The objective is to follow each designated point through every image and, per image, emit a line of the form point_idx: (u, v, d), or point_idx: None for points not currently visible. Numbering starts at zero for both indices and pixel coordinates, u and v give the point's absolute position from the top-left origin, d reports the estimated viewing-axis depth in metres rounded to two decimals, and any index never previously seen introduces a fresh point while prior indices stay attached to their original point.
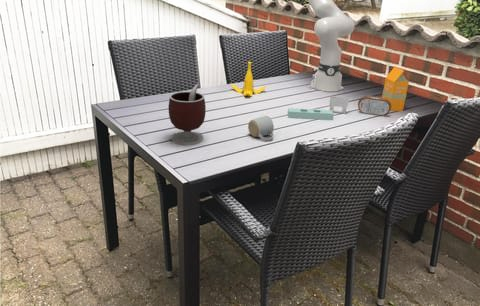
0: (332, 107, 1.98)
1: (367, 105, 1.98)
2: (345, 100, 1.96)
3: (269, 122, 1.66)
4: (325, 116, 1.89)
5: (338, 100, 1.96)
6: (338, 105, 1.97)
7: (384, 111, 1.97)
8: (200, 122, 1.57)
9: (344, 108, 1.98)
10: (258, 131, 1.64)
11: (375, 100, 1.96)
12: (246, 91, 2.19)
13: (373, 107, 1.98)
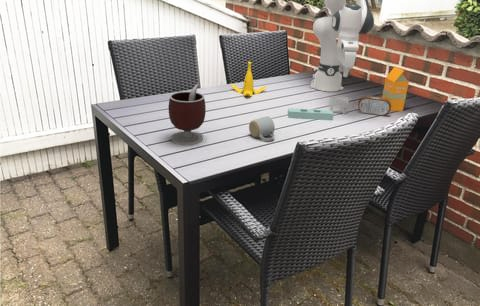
0: (332, 107, 1.98)
1: (367, 105, 1.98)
2: (345, 100, 1.96)
3: (270, 123, 1.66)
4: (325, 116, 1.89)
5: (338, 100, 1.96)
6: (338, 105, 1.97)
7: (384, 111, 1.97)
8: (200, 122, 1.57)
9: (344, 108, 1.98)
10: (258, 131, 1.64)
11: (375, 100, 1.96)
12: (246, 91, 2.19)
13: (373, 107, 1.98)
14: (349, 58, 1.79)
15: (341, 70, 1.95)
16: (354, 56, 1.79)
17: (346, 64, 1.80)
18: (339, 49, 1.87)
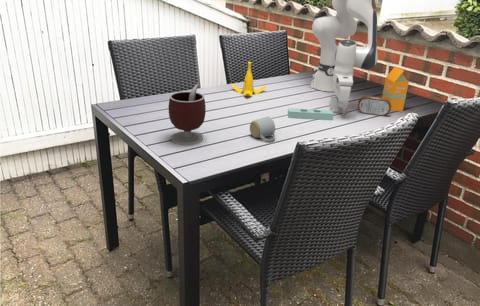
0: (332, 107, 1.98)
1: (367, 105, 1.98)
2: None
3: (271, 123, 1.65)
4: (325, 116, 1.89)
5: None
6: None
7: (384, 111, 1.97)
8: (200, 122, 1.57)
9: (344, 108, 1.98)
10: (259, 132, 1.63)
11: (375, 100, 1.96)
12: (246, 91, 2.19)
13: (373, 107, 1.98)
14: (344, 93, 1.85)
15: None
16: (349, 91, 1.85)
17: (341, 98, 1.86)
18: (334, 82, 1.94)
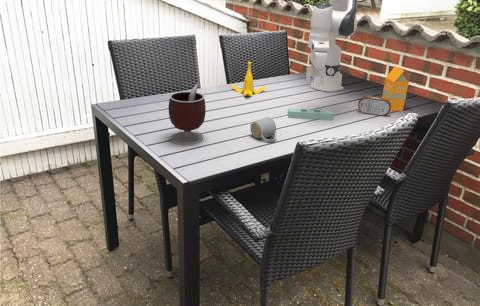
0: (309, 77, 1.84)
1: (367, 105, 1.98)
2: None
3: (272, 124, 1.65)
4: (325, 116, 1.89)
5: None
6: None
7: (384, 111, 1.97)
8: (200, 122, 1.57)
9: (321, 78, 1.84)
10: (260, 132, 1.63)
11: (375, 100, 1.96)
12: (246, 91, 2.19)
13: (373, 107, 1.98)
14: (319, 59, 1.72)
15: None
16: (325, 57, 1.71)
17: (316, 65, 1.72)
18: None
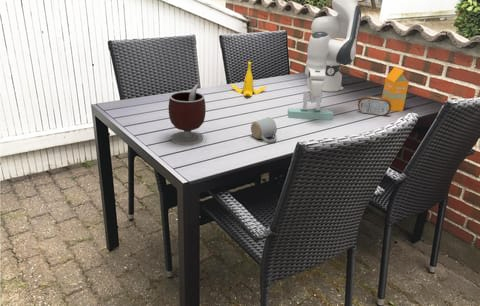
0: (305, 102, 1.89)
1: (367, 105, 1.98)
2: None
3: (272, 124, 1.65)
4: (325, 116, 1.89)
5: None
6: None
7: (384, 111, 1.97)
8: (200, 122, 1.57)
9: (318, 103, 1.89)
10: (261, 133, 1.63)
11: (375, 100, 1.96)
12: (246, 91, 2.19)
13: (373, 107, 1.98)
14: (315, 87, 1.76)
15: None
16: (321, 85, 1.76)
17: (313, 93, 1.77)
18: None
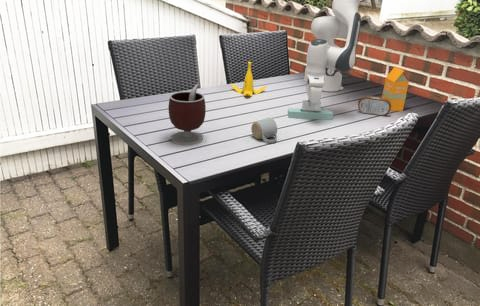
0: (304, 111, 1.90)
1: (367, 105, 1.98)
2: (317, 104, 1.88)
3: (273, 124, 1.64)
4: (325, 116, 1.89)
5: None
6: None
7: (384, 111, 1.97)
8: (200, 122, 1.57)
9: None
10: (261, 133, 1.62)
11: (375, 100, 1.96)
12: (246, 91, 2.19)
13: (373, 107, 1.98)
14: (314, 94, 1.78)
15: None
16: (320, 92, 1.78)
17: (312, 100, 1.79)
18: None
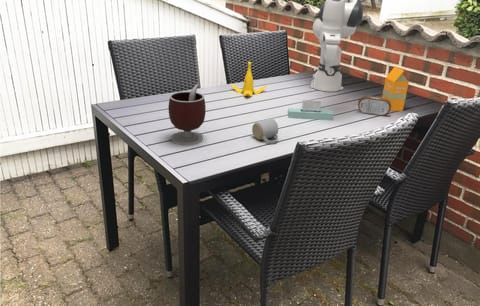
0: (304, 111, 1.91)
1: (367, 105, 1.98)
2: (317, 104, 1.89)
3: (274, 125, 1.64)
4: (325, 116, 1.89)
5: (310, 104, 1.89)
6: (310, 109, 1.90)
7: (384, 111, 1.97)
8: (200, 122, 1.57)
9: None
10: (262, 134, 1.62)
11: (375, 100, 1.96)
12: (246, 91, 2.19)
13: (373, 107, 1.98)
14: (330, 52, 1.73)
15: (324, 63, 1.89)
16: (335, 49, 1.73)
17: (327, 57, 1.74)
18: (321, 41, 1.82)
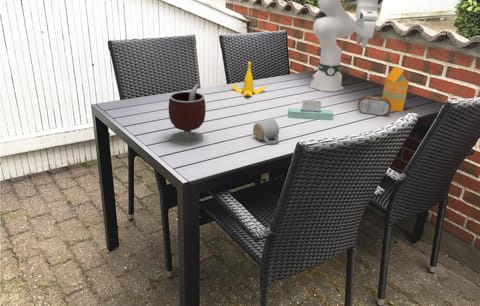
0: (304, 111, 1.91)
1: (367, 105, 1.98)
2: (317, 104, 1.89)
3: (275, 125, 1.63)
4: (325, 116, 1.89)
5: (310, 104, 1.89)
6: (310, 109, 1.90)
7: (384, 111, 1.97)
8: (200, 122, 1.57)
9: None
10: (263, 134, 1.61)
11: (375, 100, 1.96)
12: (246, 91, 2.19)
13: (373, 107, 1.98)
14: (368, 28, 1.77)
15: (358, 42, 1.93)
16: (373, 26, 1.77)
17: (365, 34, 1.78)
18: (357, 20, 1.86)
